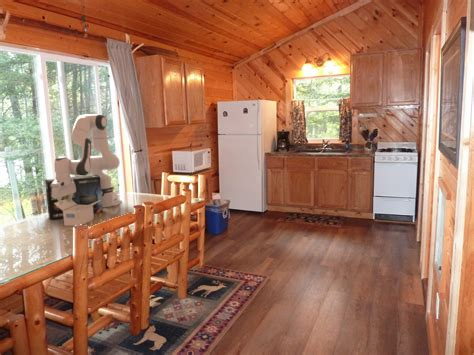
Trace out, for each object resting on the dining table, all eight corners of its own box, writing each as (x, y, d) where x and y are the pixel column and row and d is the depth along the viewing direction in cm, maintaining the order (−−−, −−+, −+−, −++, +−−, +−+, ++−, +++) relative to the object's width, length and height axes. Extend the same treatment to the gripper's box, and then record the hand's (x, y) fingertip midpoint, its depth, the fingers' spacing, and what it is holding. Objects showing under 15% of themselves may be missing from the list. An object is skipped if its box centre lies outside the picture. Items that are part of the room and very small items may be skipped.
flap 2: (100, 199, 245) (100, 200, 245) (92, 204, 247) (93, 205, 247) (87, 205, 231) (88, 206, 231) (79, 210, 232) (79, 211, 232)
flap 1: (76, 204, 249) (76, 204, 249) (69, 197, 249) (68, 198, 249) (62, 210, 234) (62, 210, 235) (54, 203, 235) (54, 203, 235)
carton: (79, 218, 252) (78, 204, 250) (94, 219, 250) (93, 204, 248) (63, 226, 235) (62, 211, 233) (79, 226, 233) (77, 211, 231)
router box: (50, 220, 248) (45, 181, 243) (47, 217, 257) (43, 179, 253) (104, 212, 267) (101, 176, 263) (100, 209, 277) (97, 174, 272)
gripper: (69, 178, 250) (71, 198, 252) (48, 184, 230) (51, 206, 232) (77, 178, 249) (79, 198, 251) (57, 184, 229) (60, 206, 231)
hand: (65, 202), depth 242 cm, fingers open, 8 cm apart
